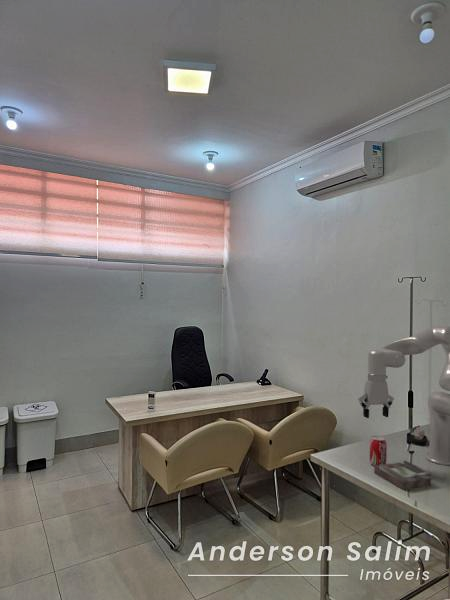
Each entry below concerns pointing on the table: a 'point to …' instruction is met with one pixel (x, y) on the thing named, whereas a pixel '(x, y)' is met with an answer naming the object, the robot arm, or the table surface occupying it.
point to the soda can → (378, 450)
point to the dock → (404, 475)
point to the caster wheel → (418, 436)
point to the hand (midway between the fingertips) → (375, 416)
